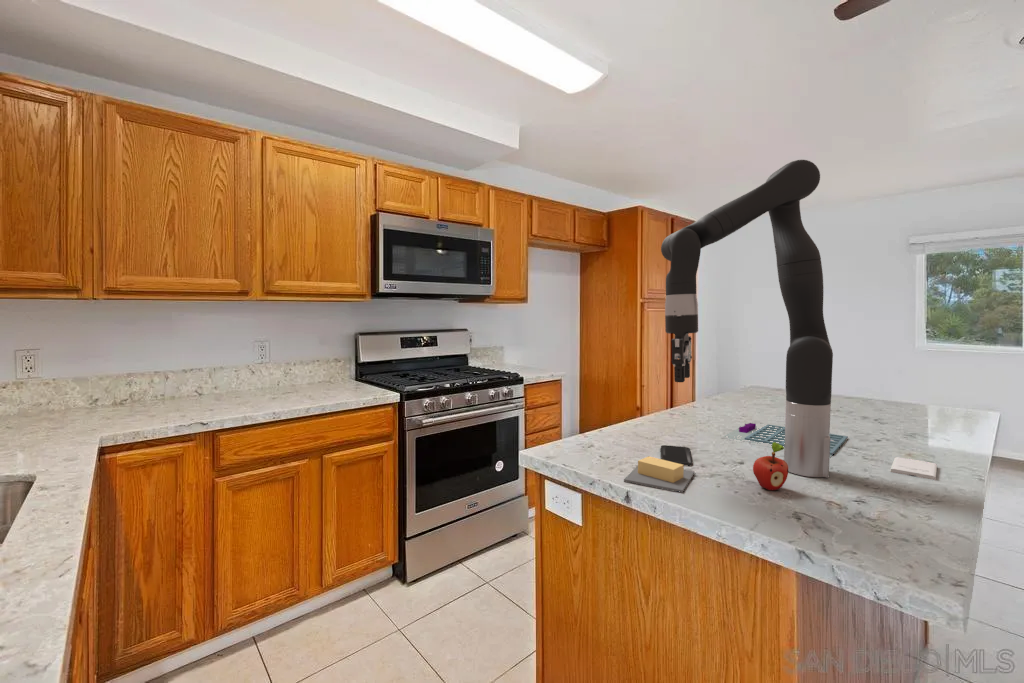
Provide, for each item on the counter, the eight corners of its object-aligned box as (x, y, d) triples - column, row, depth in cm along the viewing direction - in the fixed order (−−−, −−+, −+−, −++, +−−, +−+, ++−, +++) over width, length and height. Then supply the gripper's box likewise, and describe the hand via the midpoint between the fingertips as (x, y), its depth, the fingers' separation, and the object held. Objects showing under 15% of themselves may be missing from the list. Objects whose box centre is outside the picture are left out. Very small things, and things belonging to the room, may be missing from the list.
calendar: (829, 461, 124) (830, 452, 124) (720, 440, 144) (720, 432, 144) (847, 441, 143) (848, 433, 143) (749, 425, 163) (749, 418, 163)
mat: (694, 473, 112) (694, 471, 112) (682, 493, 100) (682, 490, 100) (640, 464, 119) (641, 462, 119) (623, 481, 107) (623, 479, 107)
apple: (788, 497, 98) (789, 450, 97) (751, 491, 101) (753, 446, 101) (787, 485, 105) (788, 441, 104) (753, 480, 108) (754, 437, 107)
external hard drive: (936, 469, 117) (935, 482, 108) (894, 462, 122) (890, 474, 113) (937, 463, 117) (935, 475, 108) (895, 456, 122) (890, 467, 113)
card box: (648, 468, 114) (648, 456, 114) (683, 477, 108) (683, 464, 108) (637, 473, 111) (638, 460, 111) (673, 482, 105) (673, 469, 104)
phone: (689, 447, 132) (692, 463, 118) (689, 451, 132) (692, 467, 118) (660, 444, 134) (659, 460, 120) (660, 448, 134) (659, 464, 120)
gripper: (670, 314, 121) (671, 376, 121) (659, 314, 108) (660, 383, 109) (701, 313, 117) (702, 376, 118) (693, 313, 105) (694, 384, 105)
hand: (682, 379), depth 113 cm, fingers open, 8 cm apart
